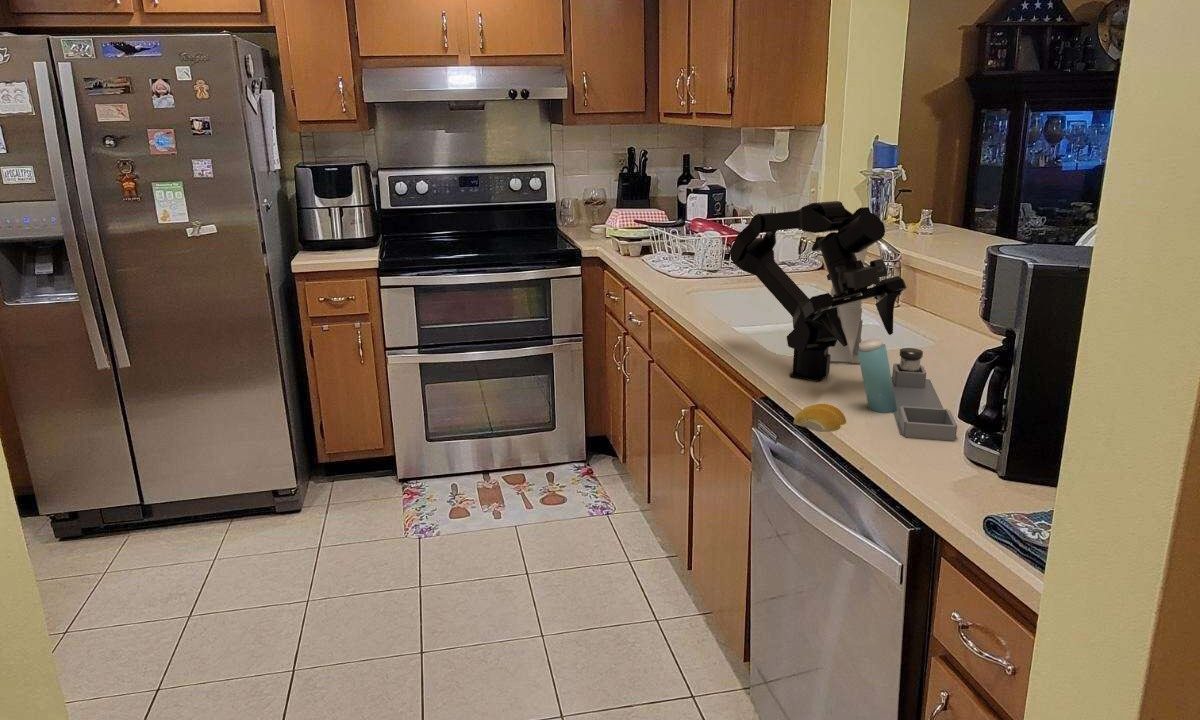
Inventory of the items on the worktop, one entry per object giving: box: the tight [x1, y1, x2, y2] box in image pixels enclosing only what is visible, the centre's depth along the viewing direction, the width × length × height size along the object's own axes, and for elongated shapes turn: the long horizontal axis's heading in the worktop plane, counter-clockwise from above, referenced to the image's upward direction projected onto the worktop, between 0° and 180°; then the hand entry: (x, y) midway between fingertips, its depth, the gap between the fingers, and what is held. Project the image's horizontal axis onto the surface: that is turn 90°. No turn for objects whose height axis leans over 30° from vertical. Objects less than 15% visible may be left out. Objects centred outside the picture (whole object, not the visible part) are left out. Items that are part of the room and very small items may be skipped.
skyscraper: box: [828, 247, 869, 365], centre depth 177 cm, size 8×8×28 cm
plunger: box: [899, 347, 924, 372], centre depth 162 cm, size 4×4×6 cm
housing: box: [891, 362, 958, 442], centre depth 151 cm, size 32×9×4 cm, turn 167°
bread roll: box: [793, 403, 847, 433], centre depth 144 cm, size 8×9×4 cm
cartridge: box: [857, 338, 897, 414], centre depth 149 cm, size 5×5×13 cm
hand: (868, 340), depth 155 cm, fingers open, 9 cm apart
